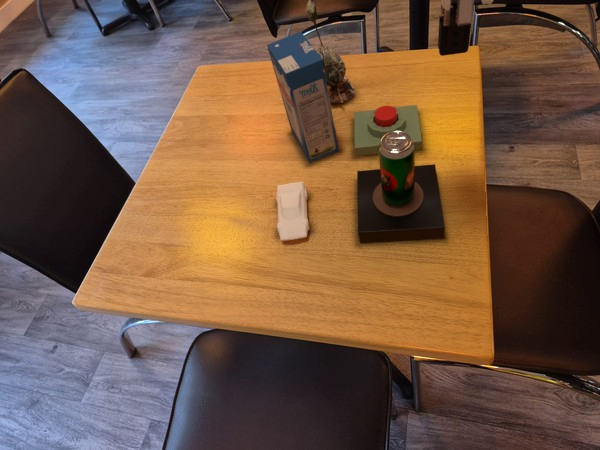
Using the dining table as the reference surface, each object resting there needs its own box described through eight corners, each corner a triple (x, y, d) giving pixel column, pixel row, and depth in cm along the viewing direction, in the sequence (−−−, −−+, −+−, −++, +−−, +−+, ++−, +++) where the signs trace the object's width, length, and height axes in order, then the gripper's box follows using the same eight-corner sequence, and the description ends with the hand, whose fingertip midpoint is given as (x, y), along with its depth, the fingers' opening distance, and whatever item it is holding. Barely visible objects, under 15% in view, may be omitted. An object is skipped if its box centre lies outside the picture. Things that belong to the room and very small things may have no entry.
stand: (434, 176, 76) (435, 162, 73) (443, 238, 68) (445, 226, 66) (358, 182, 78) (356, 169, 76) (359, 243, 71) (357, 231, 68)
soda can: (412, 209, 68) (412, 155, 59) (379, 206, 70) (374, 153, 61) (416, 185, 71) (417, 129, 62) (384, 182, 73) (381, 128, 63)
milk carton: (339, 151, 84) (322, 59, 68) (309, 163, 83) (285, 74, 68) (319, 121, 90) (300, 30, 74) (292, 133, 90) (266, 44, 74)
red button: (396, 111, 82) (396, 104, 80) (397, 126, 79) (397, 118, 78) (374, 114, 83) (374, 106, 81) (375, 128, 80) (374, 121, 79)
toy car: (279, 246, 74) (274, 235, 71) (278, 192, 81) (274, 180, 78) (311, 241, 73) (307, 229, 70) (307, 187, 80) (304, 175, 77)
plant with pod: (317, 114, 91) (297, 24, 76) (318, 80, 98) (300, -9, 82) (356, 109, 90) (344, 16, 74) (354, 75, 97) (343, -17, 81)
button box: (416, 113, 86) (417, 97, 82) (421, 150, 80) (422, 133, 77) (355, 120, 88) (353, 104, 85) (355, 156, 82) (353, 140, 79)
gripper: (539, -123, 32) (499, 86, 47) (498, -179, 41) (475, 11, 55) (432, -101, 34) (426, 94, 48) (415, -160, 42) (414, 21, 57)
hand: (452, 50), depth 52 cm, fingers closed
